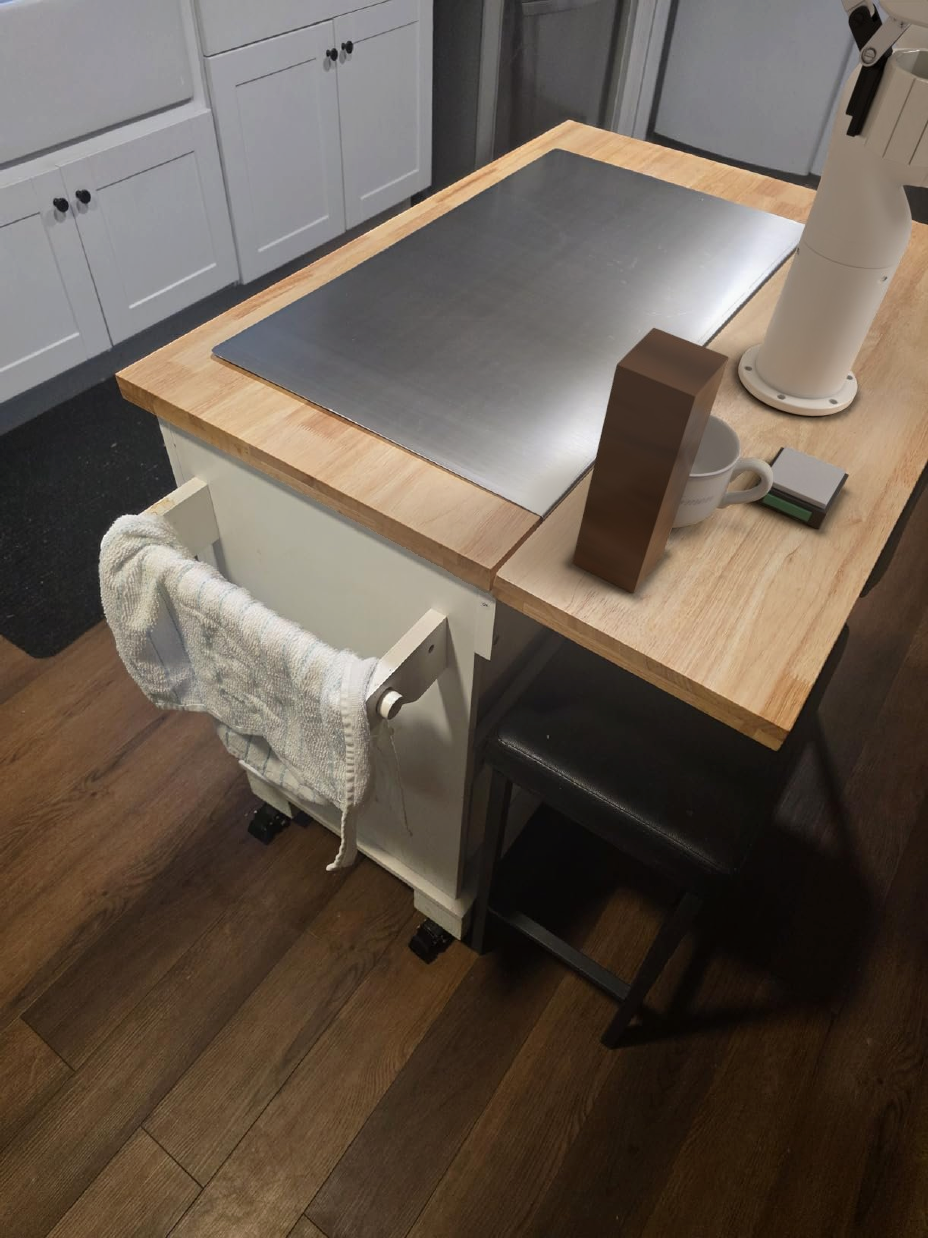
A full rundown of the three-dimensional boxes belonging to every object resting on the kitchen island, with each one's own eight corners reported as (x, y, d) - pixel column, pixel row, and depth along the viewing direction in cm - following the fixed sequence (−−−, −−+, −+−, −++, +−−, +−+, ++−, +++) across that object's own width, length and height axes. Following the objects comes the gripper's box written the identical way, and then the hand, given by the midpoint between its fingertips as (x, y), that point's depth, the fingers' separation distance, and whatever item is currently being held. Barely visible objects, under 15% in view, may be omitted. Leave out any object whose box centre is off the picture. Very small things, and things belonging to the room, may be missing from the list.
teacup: (581, 510, 80) (597, 441, 74) (634, 450, 86) (652, 382, 80) (721, 578, 76) (750, 510, 70) (766, 510, 82) (797, 442, 76)
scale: (774, 462, 86) (783, 441, 84) (841, 490, 84) (852, 469, 82) (748, 500, 82) (757, 479, 80) (817, 531, 80) (828, 510, 78)
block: (603, 524, 79) (653, 326, 64) (663, 553, 77) (729, 356, 62) (571, 563, 76) (616, 363, 60) (633, 594, 74) (695, 396, 59)
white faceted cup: (877, 116, 60) (907, 40, 56) (971, 144, 58) (1009, 66, 54) (846, 147, 57) (876, 67, 53) (945, 177, 54) (983, 97, 51)
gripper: (1272, -213, 43) (1058, 166, 57) (920, -263, 48) (805, 92, 62) (1261, -195, 39) (1033, 208, 52) (878, -252, 44) (765, 126, 58)
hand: (911, 143), depth 57 cm, fingers closed on white faceted cup, 6 cm apart
